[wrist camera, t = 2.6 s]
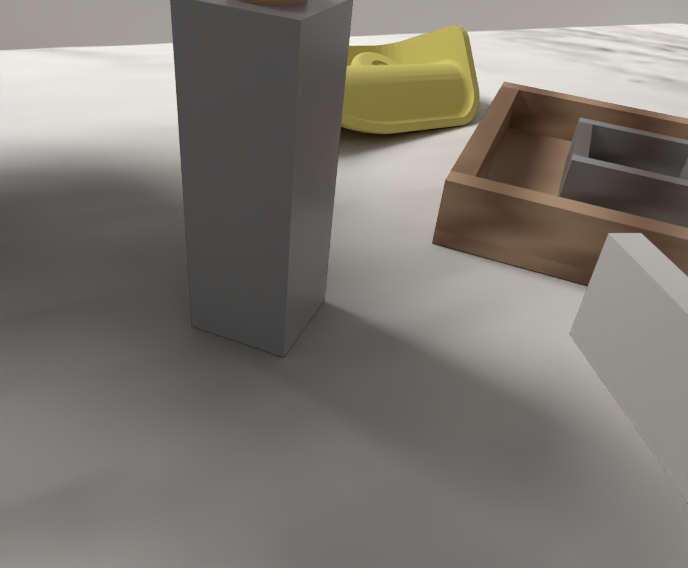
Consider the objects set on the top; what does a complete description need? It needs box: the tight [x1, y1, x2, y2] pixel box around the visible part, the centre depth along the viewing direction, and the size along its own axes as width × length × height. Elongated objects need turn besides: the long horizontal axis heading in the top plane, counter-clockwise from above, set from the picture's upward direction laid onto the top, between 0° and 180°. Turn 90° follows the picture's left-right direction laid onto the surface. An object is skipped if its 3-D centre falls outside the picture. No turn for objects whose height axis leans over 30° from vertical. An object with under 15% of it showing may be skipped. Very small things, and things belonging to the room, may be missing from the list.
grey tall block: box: [170, 0, 353, 358], centre depth 21 cm, size 4×4×13 cm
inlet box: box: [432, 82, 688, 285], centre depth 35 cm, size 18×18×4 cm
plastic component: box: [341, 26, 479, 134], centre depth 44 cm, size 20×7×10 cm
